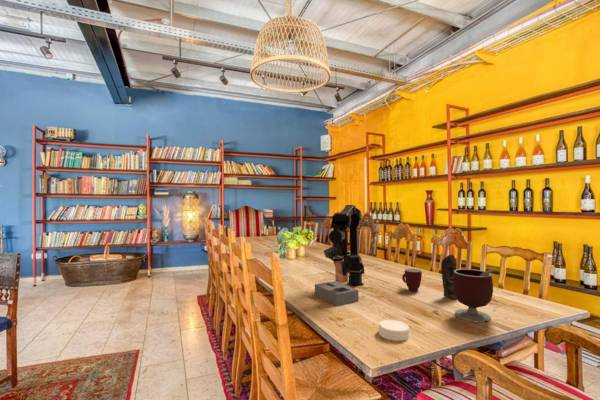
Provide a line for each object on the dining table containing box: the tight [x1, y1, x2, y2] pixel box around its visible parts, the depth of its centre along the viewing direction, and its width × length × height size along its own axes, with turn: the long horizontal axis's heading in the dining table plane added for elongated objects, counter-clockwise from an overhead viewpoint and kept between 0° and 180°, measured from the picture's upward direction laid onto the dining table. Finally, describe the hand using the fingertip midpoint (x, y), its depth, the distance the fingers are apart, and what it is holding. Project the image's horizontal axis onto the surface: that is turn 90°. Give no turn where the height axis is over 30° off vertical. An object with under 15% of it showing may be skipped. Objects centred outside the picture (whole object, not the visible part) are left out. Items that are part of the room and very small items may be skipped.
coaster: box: [378, 319, 410, 342], centre depth 105 cm, size 10×10×4 cm
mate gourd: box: [453, 268, 496, 323], centre depth 120 cm, size 16×14×20 cm
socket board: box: [314, 280, 359, 307], centre depth 145 cm, size 12×18×5 cm, turn 29°
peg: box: [334, 261, 349, 284], centre depth 141 cm, size 4×4×9 cm
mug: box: [401, 268, 423, 292], centre depth 158 cm, size 11×8×10 cm
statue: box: [440, 254, 457, 300], centre depth 145 cm, size 7×7×20 cm
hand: (341, 274), depth 141 cm, fingers closed on peg, 4 cm apart
